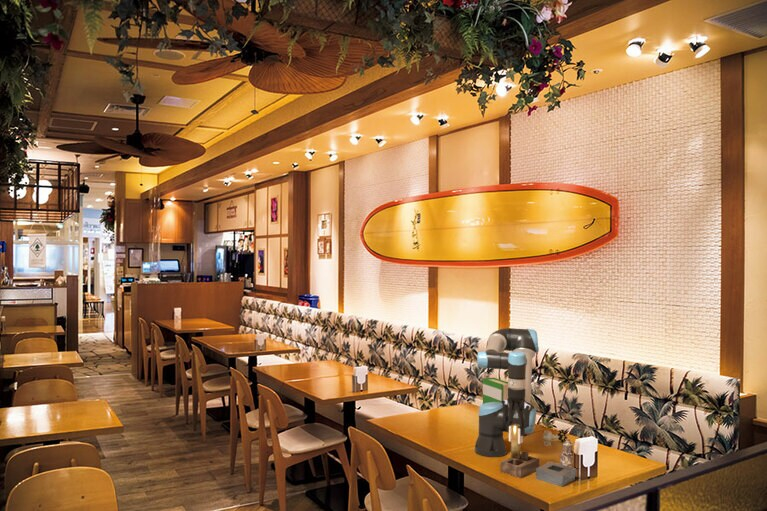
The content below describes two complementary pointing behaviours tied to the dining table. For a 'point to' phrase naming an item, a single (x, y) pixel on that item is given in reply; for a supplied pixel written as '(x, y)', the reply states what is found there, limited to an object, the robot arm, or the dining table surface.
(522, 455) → the box
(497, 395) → the hardback book
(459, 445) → the dining table surface
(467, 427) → the dining table surface
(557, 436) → the valve
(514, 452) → the translucent yellow cylinder
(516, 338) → the robot arm
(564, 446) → the figurine
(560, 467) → the socket block
